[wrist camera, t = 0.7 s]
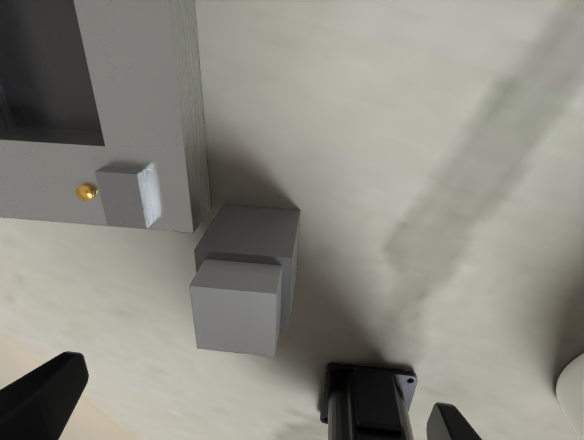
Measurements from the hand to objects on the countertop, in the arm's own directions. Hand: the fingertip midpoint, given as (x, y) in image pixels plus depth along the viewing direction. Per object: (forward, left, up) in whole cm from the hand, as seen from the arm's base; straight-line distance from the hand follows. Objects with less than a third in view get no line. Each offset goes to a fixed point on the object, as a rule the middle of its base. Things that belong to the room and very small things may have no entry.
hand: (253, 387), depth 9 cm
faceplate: (+6, +12, -12) cm, 18 cm away
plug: (-3, +2, -12) cm, 13 cm away
